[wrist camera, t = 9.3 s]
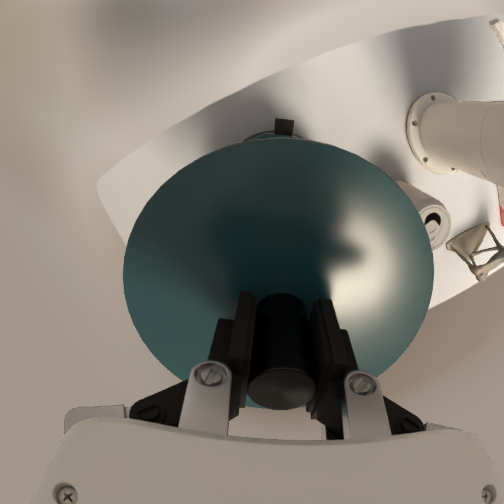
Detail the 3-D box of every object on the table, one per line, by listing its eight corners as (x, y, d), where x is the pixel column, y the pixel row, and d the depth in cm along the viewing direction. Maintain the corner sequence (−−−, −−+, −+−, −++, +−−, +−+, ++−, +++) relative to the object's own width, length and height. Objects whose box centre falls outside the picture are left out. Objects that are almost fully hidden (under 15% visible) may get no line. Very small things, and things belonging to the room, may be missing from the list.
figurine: (447, 270, 43) (491, 319, 29) (445, 238, 41) (495, 283, 27) (489, 251, 41) (536, 291, 27) (489, 220, 38) (542, 255, 25)
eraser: (502, 19, 21) (494, 24, 22) (515, 42, 22) (508, 48, 23) (498, 21, 22) (490, 25, 23) (512, 43, 23) (504, 48, 25)
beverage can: (414, 180, 37) (457, 202, 27) (410, 221, 40) (448, 253, 29) (376, 178, 38) (412, 200, 27) (374, 220, 41) (405, 255, 30)
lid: (462, 175, 10) (538, 209, 6) (373, 403, 17) (387, 464, 12) (120, 130, 11) (38, 143, 6) (147, 383, 17) (122, 444, 12)
